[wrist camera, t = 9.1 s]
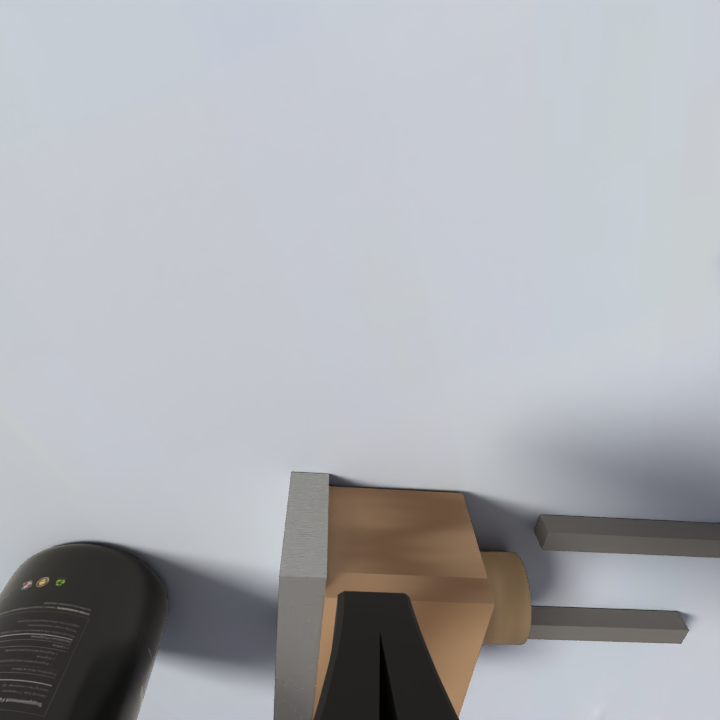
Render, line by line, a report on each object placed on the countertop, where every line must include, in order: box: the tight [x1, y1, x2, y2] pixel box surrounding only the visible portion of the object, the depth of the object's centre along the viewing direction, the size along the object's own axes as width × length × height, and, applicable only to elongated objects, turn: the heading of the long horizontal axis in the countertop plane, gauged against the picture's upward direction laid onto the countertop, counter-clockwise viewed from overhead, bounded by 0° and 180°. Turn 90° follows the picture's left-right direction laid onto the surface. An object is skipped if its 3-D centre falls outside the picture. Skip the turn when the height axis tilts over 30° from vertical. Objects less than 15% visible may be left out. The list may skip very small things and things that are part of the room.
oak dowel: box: [480, 551, 531, 645], centre depth 23 cm, size 7×4×4 cm, turn 87°
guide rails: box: [528, 515, 720, 644], centre depth 25 cm, size 8×7×1 cm
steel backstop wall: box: [274, 472, 329, 720], centre depth 22 cm, size 2×10×5 cm, turn 175°
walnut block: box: [313, 486, 495, 719], centre depth 22 cm, size 6×9×5 cm, turn 174°
